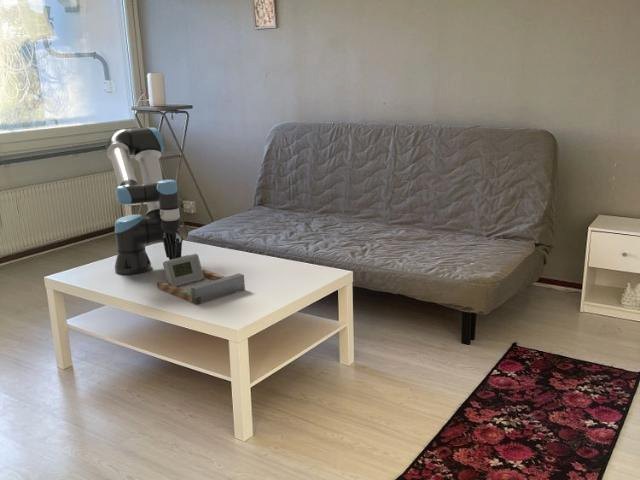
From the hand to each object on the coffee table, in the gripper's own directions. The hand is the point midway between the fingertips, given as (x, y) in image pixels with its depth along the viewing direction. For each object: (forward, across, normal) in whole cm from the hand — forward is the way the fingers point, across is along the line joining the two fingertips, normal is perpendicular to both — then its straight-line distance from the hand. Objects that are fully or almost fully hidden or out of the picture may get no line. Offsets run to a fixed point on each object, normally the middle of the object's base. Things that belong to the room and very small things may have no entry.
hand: (175, 275), depth 260 cm
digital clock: (+2, +7, 0) cm, 7 cm away
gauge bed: (+2, +18, 0) cm, 18 cm away
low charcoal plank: (+2, +30, 0) cm, 30 cm away
